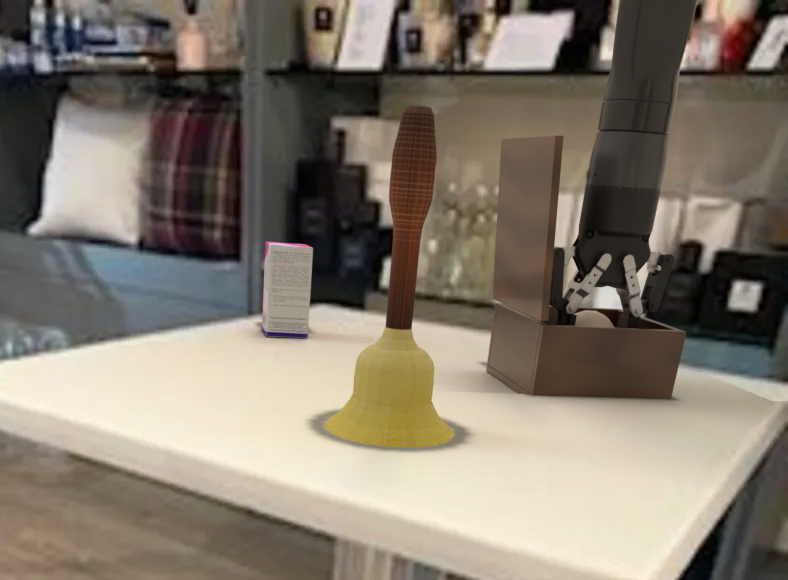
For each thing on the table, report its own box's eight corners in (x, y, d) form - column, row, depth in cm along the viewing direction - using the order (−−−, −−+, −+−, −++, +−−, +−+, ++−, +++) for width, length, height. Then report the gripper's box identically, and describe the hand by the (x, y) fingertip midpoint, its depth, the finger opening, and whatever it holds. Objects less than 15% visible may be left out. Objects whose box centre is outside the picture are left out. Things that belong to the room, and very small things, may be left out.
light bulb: (635, 341, 91) (611, 296, 99) (571, 348, 91) (552, 303, 99) (629, 397, 95) (607, 350, 103) (568, 404, 96) (550, 357, 104)
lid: (508, 138, 94) (501, 138, 94) (563, 135, 80) (555, 135, 80) (499, 298, 101) (492, 299, 101) (548, 320, 87) (540, 321, 87)
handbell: (432, 469, 68) (475, 101, 57) (291, 441, 72) (306, 95, 61) (477, 434, 78) (521, 116, 67) (352, 412, 83) (374, 110, 72)
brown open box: (607, 375, 107) (620, 308, 104) (669, 406, 94) (686, 331, 90) (485, 371, 105) (495, 303, 101) (531, 403, 91) (543, 325, 88)
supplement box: (309, 338, 117) (313, 246, 112) (265, 337, 116) (267, 244, 111) (303, 331, 122) (306, 242, 117) (260, 329, 121) (262, 240, 116)
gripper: (572, 179, 86) (543, 353, 93) (706, 189, 88) (668, 358, 95) (544, 177, 92) (519, 341, 100) (670, 187, 95) (636, 345, 102)
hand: (592, 348), depth 97 cm, fingers closed on light bulb, 6 cm apart
